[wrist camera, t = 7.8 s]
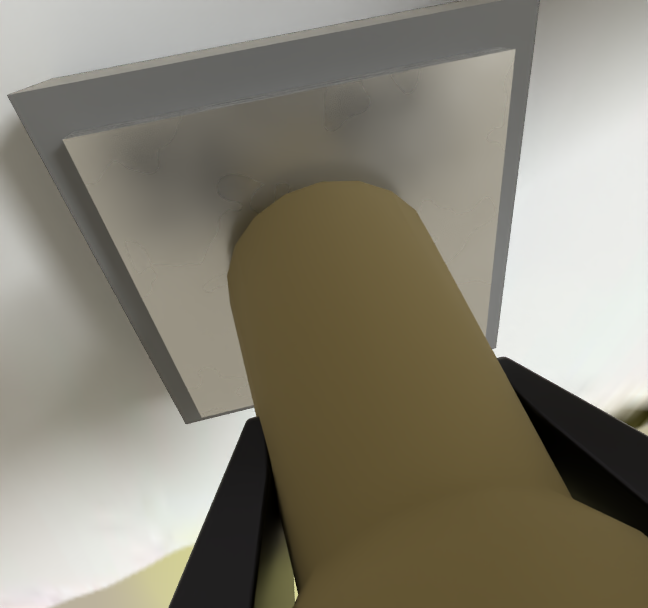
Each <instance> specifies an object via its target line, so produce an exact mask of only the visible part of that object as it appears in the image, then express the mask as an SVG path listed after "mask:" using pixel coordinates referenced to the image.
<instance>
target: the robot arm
mask: <svg viewBox="0 0 648 608" xmlns="http://www.w3.org/2000/svg"><path fill="white" fill-rule="evenodd" d="M497 360H498V361H499V363H500V365H501V367H502V369H503V371H504V373H505V374H506V376H507V378H508V380H509V382H510V384H511V386H512V387H513V389H514V391H515V393H516V395H517V397H518V398H519V400H520V402H521V404H522V406H523V408H524V410H525V411H526V413H527V415H528V417H529V419H530V421H531V422H532V424H533V426H534V428H535V430H536V432H537V434H538V435H539V437H540V439H541V441H542V443H543V445H544V446H545V448H546V450H547V452H548V454H549V456H550V458H551V459H552V461H553V463H554V465H555V467H556V469H557V470H558V472H559V474H560V476H561V478H562V480H563V482H564V483H565V485H566V487H567V489H568V491H569V493H570V494H571V496H572V498H573V499H574V500H577V501H579V502H581V503H583V504H585V505H587V506H589V507H591V508H593V509H595V510H597V511H599V512H601V513H604V514H606V515H608V516H610V517H612V518H614V519H616V520H618V521H620V522H622V523H624V524H626V525H628V526H631V527H633V528H635V529H637V530H639V531H641V532H642V533H643V534H644V535H645V536H647V537H648V436H647V435H645V434H644V433H642V432H640V431H638V430H636V429H635V428H633V427H631V426H629V425H627V424H626V423H624V422H622V421H620V420H619V419H617V418H615V417H613V416H611V415H610V414H608V413H606V412H604V411H602V410H601V409H599V408H597V407H595V406H593V405H592V404H590V403H588V402H586V401H585V400H583V399H581V398H579V397H577V396H576V395H574V394H572V393H570V392H568V391H567V390H565V389H563V388H561V387H559V386H558V385H556V384H554V383H552V382H550V381H549V380H547V379H545V378H543V377H542V376H540V375H538V374H536V373H534V372H533V371H531V370H529V369H527V368H525V367H524V366H522V365H520V364H518V363H516V362H515V361H513V360H511V359H509V358H507V357H499V358H497ZM294 604H295V598H294V574H293V570H292V565H291V561H290V557H289V553H288V548H287V544H286V540H285V536H284V531H283V527H282V523H281V519H280V514H279V510H278V504H277V497H276V491H275V484H274V478H273V473H272V467H271V461H270V456H269V452H268V448H267V444H266V440H265V436H264V433H263V429H262V425H261V422H260V418H259V416H257V417H253V418H250V419H248V420H247V421H246V423H245V425H244V428H243V430H242V433H241V435H240V437H239V440H238V442H237V445H236V447H235V449H234V452H233V454H232V457H231V459H230V461H229V464H228V466H227V469H226V471H225V473H224V476H223V478H222V481H221V483H220V485H219V488H218V490H217V493H216V495H215V497H214V500H213V502H212V504H211V507H210V509H209V512H208V514H207V516H206V519H205V521H204V524H203V526H202V528H201V531H200V533H199V536H198V538H197V540H196V543H195V545H194V548H193V550H192V552H191V555H190V557H189V560H188V562H187V564H186V567H185V569H184V572H183V574H182V576H181V579H180V581H179V584H178V586H177V588H176V591H175V593H174V595H173V598H172V600H171V603H170V605H169V608H293V606H294Z"/></svg>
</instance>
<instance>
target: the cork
mask: <svg viewBox="0 0 648 608" xmlns="http://www.w3.org/2000/svg"><path fill="white" fill-rule="evenodd" d="M227 281H228V290H229V299H230V306H231V310H232V315H233V319H234V323H235V327H236V332H237V336H238V340H239V344H240V349H241V353H242V357H243V361H244V366H245V370H246V374H247V378H248V383H249V387H250V391H251V395H252V400H253V404H254V408H255V412H256V417H257V416H259V418H260V422H261V425H262V429H263V433H264V436H265V440H266V444H267V448H268V452H269V456H270V461H271V467H272V473H273V478H274V484H275V491H276V497H277V504H278V510H279V514H280V519H281V523H282V527H283V531H284V536H285V540H286V544H287V548H288V553H289V557H290V561H291V565H292V570H293V574H294V578H295V582H296V586H297V591H298V597H297V599H296V601H295V604H294V606H293V608H648V537H647V536H645V535H644V534H643V533H642V532H641V531H639V530H637V529H635V528H633V527H631V526H628V525H626V524H624V523H622V522H620V521H618V520H616V519H614V518H612V517H610V516H608V515H606V514H604V513H601V512H599V511H597V510H595V509H593V508H591V507H589V506H587V505H585V504H583V503H581V502H579V501H577V500H574V499H573V498H572V496H571V494H570V493H569V491H568V489H567V487H566V485H565V483H564V482H563V480H562V478H561V476H560V474H559V472H558V470H557V469H556V467H555V465H554V463H553V461H552V459H551V458H550V456H549V454H548V452H547V450H546V448H545V446H544V445H543V443H542V441H541V439H540V437H539V435H538V434H537V432H536V430H535V428H534V426H533V424H532V422H531V421H530V419H529V417H528V415H527V413H526V411H525V410H524V408H523V406H522V404H521V402H520V400H519V398H518V397H517V395H516V393H515V391H514V389H513V387H512V386H511V384H510V382H509V380H508V378H507V376H506V374H505V373H504V371H503V369H502V367H501V365H500V363H499V361H498V360H497V358H496V356H495V354H494V352H493V350H492V349H491V347H490V345H489V343H488V341H487V339H486V337H485V336H484V334H483V332H482V330H481V328H480V326H479V325H478V323H477V321H476V319H475V317H474V315H473V313H472V312H471V310H470V308H469V306H468V304H467V302H466V301H465V299H464V297H463V295H462V293H461V291H460V289H459V288H458V286H457V284H456V282H455V280H454V278H453V277H452V275H451V273H450V271H449V269H448V267H447V265H446V264H445V262H444V260H443V258H442V256H441V254H440V252H439V251H438V249H437V247H436V245H435V243H434V241H433V240H432V238H431V236H430V234H429V232H428V231H427V229H426V227H425V225H424V224H423V222H422V220H421V218H420V217H419V215H418V213H417V211H416V210H415V209H414V208H412V207H411V206H410V205H408V204H407V203H406V202H405V201H403V200H402V199H401V198H400V197H398V196H397V195H396V194H395V193H393V192H392V191H390V190H386V189H383V188H380V187H377V186H374V185H371V184H368V183H364V182H361V181H323V182H319V183H316V184H313V185H310V186H307V187H304V188H301V189H298V190H296V191H293V192H290V193H287V194H285V195H283V196H282V197H281V198H279V199H278V200H277V201H275V202H274V203H272V204H271V205H270V206H268V207H267V208H266V209H264V210H263V211H262V212H260V213H259V214H258V215H256V216H255V217H254V219H253V220H252V222H251V223H250V224H249V226H248V227H247V229H246V230H245V232H244V233H243V234H242V236H241V237H240V239H239V240H238V242H237V243H236V244H235V247H234V251H233V255H232V258H231V262H230V266H229V270H228V273H227Z"/></svg>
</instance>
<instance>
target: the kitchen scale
mask: <svg viewBox="0 0 648 608" xmlns="http://www.w3.org/2000/svg"><path fill="white" fill-rule="evenodd" d="M539 2H540V0H462V1H457V2H451V3H446V4H441V5H436V6H430V7H425V8H420V9H415V10H409V11H404V12H399V13H394V14H388V15H383V16H378V17H373V18H367V19H362V20H357V21H352V22H346V23H341V24H336V25H331V26H325V27H320V28H315V29H310V30H304V31H299V32H294V33H289V34H283V35H278V36H273V37H268V38H262V39H257V40H252V41H247V42H241V43H236V44H231V45H226V46H220V47H215V48H210V49H205V50H199V51H194V52H189V53H184V54H179V55H173V56H168V57H163V58H158V59H152V60H147V61H142V62H137V63H131V64H126V65H121V66H116V67H110V68H105V69H100V70H95V71H89V72H84V73H79V74H74V75H68V76H63V77H58V78H53V79H50V80H47V81H44V82H41V83H39V84H36V85H33V86H30V87H28V88H25V89H22V90H20V91H17V92H14V93H11V94H9V95H7V96H8V98H9V100H10V101H11V103H12V105H13V107H14V109H15V111H16V113H17V114H18V116H19V118H20V120H21V122H22V124H23V125H24V127H25V129H26V131H27V133H28V135H29V136H30V138H31V140H32V142H33V144H34V146H35V147H36V149H37V151H38V153H39V155H40V157H41V159H42V160H43V162H44V164H45V166H46V168H47V170H48V171H49V173H50V175H51V177H52V179H53V181H54V182H55V184H56V186H57V188H58V190H59V192H60V193H61V195H62V197H63V199H64V201H65V203H66V205H67V206H68V208H69V210H70V212H71V214H72V216H73V217H74V219H75V221H76V223H77V225H78V227H79V228H80V230H81V232H82V234H83V236H84V238H85V239H86V241H87V243H88V245H89V247H90V249H91V251H92V252H93V254H94V256H95V258H96V260H97V262H98V263H99V265H100V267H101V269H102V271H103V273H104V274H105V276H106V278H107V280H108V282H109V284H110V285H111V287H112V289H113V291H114V293H115V295H116V297H117V298H118V300H119V302H120V304H121V306H122V308H123V309H124V311H125V313H126V315H127V317H128V319H129V320H130V322H131V324H132V326H133V328H134V330H135V332H136V333H137V335H138V337H139V339H140V341H141V343H142V344H143V346H144V348H145V350H146V352H147V354H148V355H149V357H150V359H151V361H152V363H153V365H154V366H155V368H156V370H157V372H158V374H159V376H160V378H161V379H162V381H163V383H164V385H165V387H166V389H167V390H168V392H169V394H170V396H171V398H172V400H173V401H174V403H175V405H176V407H177V409H178V411H179V412H180V414H181V416H182V418H183V420H184V422H185V424H189V423H193V422H197V421H201V420H205V419H209V418H213V417H217V416H221V415H226V414H230V413H234V412H238V411H242V410H246V409H250V408H254V404H253V400H252V395H251V391H250V387H249V383H248V378H247V374H246V370H245V366H244V361H243V357H242V353H241V349H240V344H239V340H238V336H237V332H236V327H235V323H234V319H233V315H232V310H231V306H230V299H229V290H228V281H227V273H228V270H229V266H230V262H231V258H232V255H233V251H234V247H235V244H236V243H237V242H238V240H239V239H240V237H241V236H242V234H243V233H244V232H245V230H246V229H247V227H248V226H249V224H250V223H251V222H252V220H253V219H254V217H255V216H256V215H258V214H259V213H260V212H262V211H263V210H264V209H266V208H267V207H268V206H270V205H271V204H272V203H274V202H275V201H277V200H278V199H279V198H281V197H282V196H283V195H285V194H287V193H290V192H293V191H296V190H298V189H301V188H304V187H307V186H310V185H313V184H316V183H319V182H323V181H361V182H364V183H368V184H371V185H374V186H377V187H380V188H383V189H386V190H390V191H392V192H393V193H395V194H396V195H397V196H398V197H400V198H401V199H402V200H403V201H405V202H406V203H407V204H408V205H410V206H411V207H412V208H414V209H415V210H416V211H417V213H418V215H419V217H420V218H421V220H422V222H423V224H424V225H425V227H426V229H427V231H428V232H429V234H430V236H431V238H432V240H433V241H434V243H435V245H436V247H437V249H438V251H439V252H440V254H441V256H442V258H443V260H444V262H445V264H446V265H447V267H448V269H449V271H450V273H451V275H452V277H453V278H454V280H455V282H456V284H457V286H458V288H459V289H460V291H461V293H462V295H463V297H464V299H465V301H466V302H467V304H468V306H469V308H470V310H471V312H472V313H473V315H474V317H475V319H476V321H477V323H478V325H479V326H480V328H481V330H482V332H483V334H484V336H485V337H486V339H487V341H488V343H489V345H490V347H491V349H494V348H496V343H497V335H498V328H499V320H500V312H501V304H502V296H503V288H504V280H505V272H506V264H507V256H508V248H509V240H510V232H511V224H512V216H513V208H514V201H515V193H516V185H517V177H518V169H519V161H520V153H521V145H522V137H523V129H524V121H525V113H526V105H527V97H528V89H529V81H530V74H531V66H532V58H533V50H534V42H535V34H536V26H537V18H538V10H539Z"/></svg>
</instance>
